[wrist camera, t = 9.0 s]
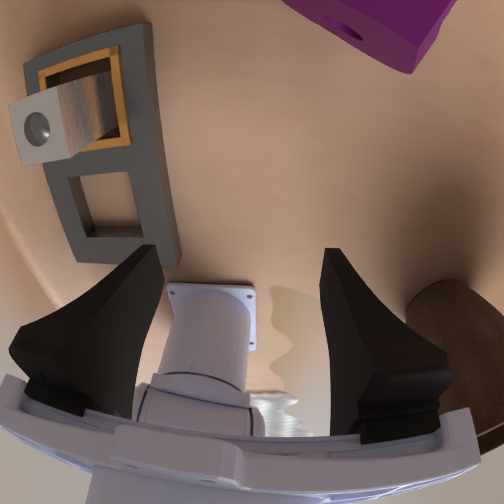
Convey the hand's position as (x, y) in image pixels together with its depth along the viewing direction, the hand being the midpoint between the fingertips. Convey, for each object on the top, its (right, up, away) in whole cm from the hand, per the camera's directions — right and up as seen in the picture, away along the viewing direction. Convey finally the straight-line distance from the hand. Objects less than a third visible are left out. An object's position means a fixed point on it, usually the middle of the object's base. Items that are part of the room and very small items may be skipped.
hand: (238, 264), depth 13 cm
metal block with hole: (-11, +11, +4) cm, 16 cm away
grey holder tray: (-10, +8, +7) cm, 15 cm away
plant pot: (+20, -5, +14) cm, 25 cm away
